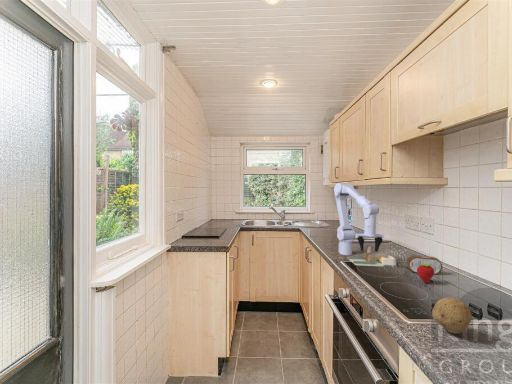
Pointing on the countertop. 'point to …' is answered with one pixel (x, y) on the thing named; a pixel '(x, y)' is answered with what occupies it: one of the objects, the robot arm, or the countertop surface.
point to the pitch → (385, 261)
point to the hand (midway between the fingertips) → (369, 251)
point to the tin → (418, 260)
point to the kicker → (369, 255)
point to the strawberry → (425, 272)
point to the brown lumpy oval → (452, 315)
